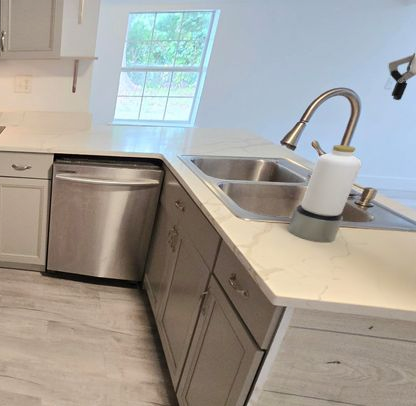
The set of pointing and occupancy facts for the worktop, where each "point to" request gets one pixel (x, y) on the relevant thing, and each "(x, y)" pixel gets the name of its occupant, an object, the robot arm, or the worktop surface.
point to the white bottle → (331, 181)
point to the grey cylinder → (314, 225)
